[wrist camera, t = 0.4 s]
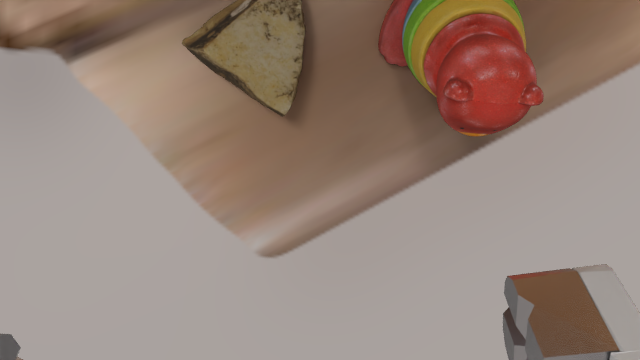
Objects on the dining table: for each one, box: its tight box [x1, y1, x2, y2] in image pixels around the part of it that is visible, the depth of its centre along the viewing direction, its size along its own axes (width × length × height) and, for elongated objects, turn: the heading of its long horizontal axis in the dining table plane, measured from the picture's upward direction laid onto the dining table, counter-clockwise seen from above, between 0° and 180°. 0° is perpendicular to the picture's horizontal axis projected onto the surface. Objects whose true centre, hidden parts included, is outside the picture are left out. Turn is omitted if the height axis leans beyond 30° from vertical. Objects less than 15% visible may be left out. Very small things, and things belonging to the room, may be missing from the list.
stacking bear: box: [378, 0, 544, 136], centre depth 45 cm, size 11×10×18 cm
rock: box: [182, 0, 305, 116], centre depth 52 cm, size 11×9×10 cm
